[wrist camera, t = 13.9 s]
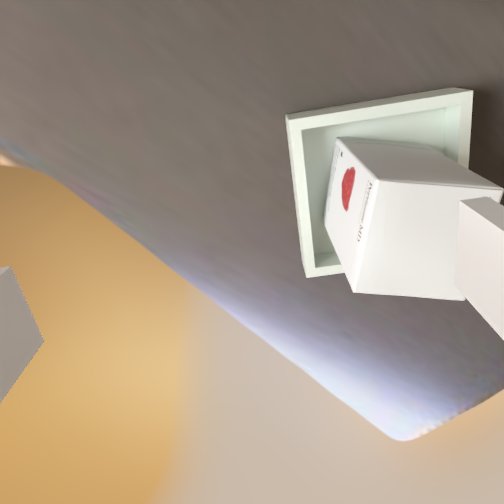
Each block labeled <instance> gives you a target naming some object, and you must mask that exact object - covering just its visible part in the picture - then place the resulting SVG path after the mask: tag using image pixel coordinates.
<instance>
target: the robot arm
mask: <svg viewBox="0 0 504 504" xmlns="http://www.w3.org/2000/svg"><path fill="white" fill-rule="evenodd" d="M455 286H456V287H457V288H458V290H459V291H460V292H461V293H462V294H463V295H464V296H465V297H466V299H467V300H468V301H469V302H470V303H471V304H472V305H473V306H474V307H475V309H476V310H477V311H478V312H479V313H480V314H481V315H482V316H483V318H484V319H485V320H486V321H487V322H488V323H489V324H490V325H491V327H492V328H493V329H494V330H495V331H496V332H497V333H498V334H499V336H500V337H501V338H502V339H503V340H504V206H503V205H501V204H499V203H498V202H496V201H494V200H493V199H491V198H489V197H488V196H487V197H480V198H473V199H466V200H460V201H459V219H458V237H457V255H456V273H455ZM43 342H44V340H43V338H42V335H41V333H40V331H39V328H38V326H37V324H36V322H35V320H34V317H33V315H32V313H31V310H30V308H29V306H28V304H27V301H26V299H25V297H24V295H23V293H22V290H21V288H20V286H19V284H18V281H17V279H16V277H15V274H14V272H13V270H12V268H11V266H10V267H3V268H0V403H1V401H2V400H3V399H4V397H5V396H6V394H7V393H8V391H9V390H10V389H11V387H12V386H13V384H14V383H15V382H16V380H17V379H18V377H19V376H20V374H21V373H22V372H23V370H24V369H25V367H26V366H27V365H28V363H29V362H30V360H31V359H32V358H33V356H34V355H35V353H36V352H37V351H38V349H39V348H40V346H41V345H42V343H43Z"/></svg>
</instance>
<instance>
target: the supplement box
mask: <svg viewBox="0 0 504 504" xmlns="http://www.w3.org/2000/svg"><path fill="white" fill-rule="evenodd" d="M503 192H504V189H503V188H502V187H500V186H498V185H496V184H494V183H492V182H491V181H489V180H487V179H485V178H483V177H481V176H480V175H478V174H476V173H474V172H472V171H471V170H469V169H467V168H465V167H464V166H462V165H460V164H458V163H456V162H455V161H453V160H451V159H449V158H448V157H446V156H444V155H442V154H440V153H438V152H437V151H435V150H433V149H431V148H429V147H428V146H426V145H424V144H420V143H409V142H397V141H385V140H373V139H362V138H350V137H337V138H336V140H335V145H334V151H333V156H332V162H331V168H330V174H329V180H328V186H327V192H326V198H325V204H324V210H323V216H322V221H323V223H324V225H325V228H326V230H327V232H328V235H329V237H330V239H331V242H332V244H333V246H334V248H335V251H336V253H337V255H338V258H339V260H340V262H341V264H342V267H343V269H344V272H345V274H346V276H347V279H348V281H349V283H350V286H351V288H352V290H353V292H354V293H368V294H384V295H399V296H413V297H424V298H435V299H448V300H461V301H464V300H465V299H466V297H465V296H464V295H463V294H462V293H461V292H460V291H459V290H458V288H457V287H456V286H455V273H456V255H457V237H458V219H459V201H460V200H466V199H473V198H480V197H487V196H488V197H489V198H491V199H493V200H494V201H496V202H498V203H499V204H500V201H501V198H502V195H503Z"/></svg>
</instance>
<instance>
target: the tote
mask: <svg viewBox="0 0 504 504" xmlns="http://www.w3.org/2000/svg"><path fill="white" fill-rule="evenodd" d="M472 103H473V90H467V89H461V88H455V87H451V88H445V89H438V90H432V91H426V92H420V93H414V94H407V95H401V96H395V97H389V98H383V99H376V100H370V101H364V102H358V103H352V104H345V105H339V106H333V107H327V108H321V109H314V110H308V111H302V112H296V113H290V114H285V118H286V127H287V135H288V144H289V153H290V161H291V170H292V178H293V187H294V196H295V204H296V213H297V221H298V230H299V239H300V247H301V256H302V262H303V266H304V270H305V274H306V278H309V277H316V276H323V275H330V274H338V273H345V272H344V269H343V267H342V264H341V262H340V260H339V258H338V255H337V253H336V251H335V248H334V246H333V244H332V242H331V239H330V237H329V235H328V232H327V230H326V228H325V225H324V223H323V221H322V216H323V210H324V204H325V198H326V192H327V186H328V180H329V174H330V168H331V162H332V156H333V151H334V145H335V140H336V138H337V137H350V138H362V139H373V140H385V141H397V142H409V143H420V144H424V145H426V146H428V147H429V148H431V149H433V150H435V151H437V152H438V153H440V154H442V155H444V156H446V157H448V158H449V159H451V160H453V161H455V162H456V163H458V164H460V165H462V166H464V167H465V168H467V169H468V166H469V151H470V135H471V119H472Z"/></svg>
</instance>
